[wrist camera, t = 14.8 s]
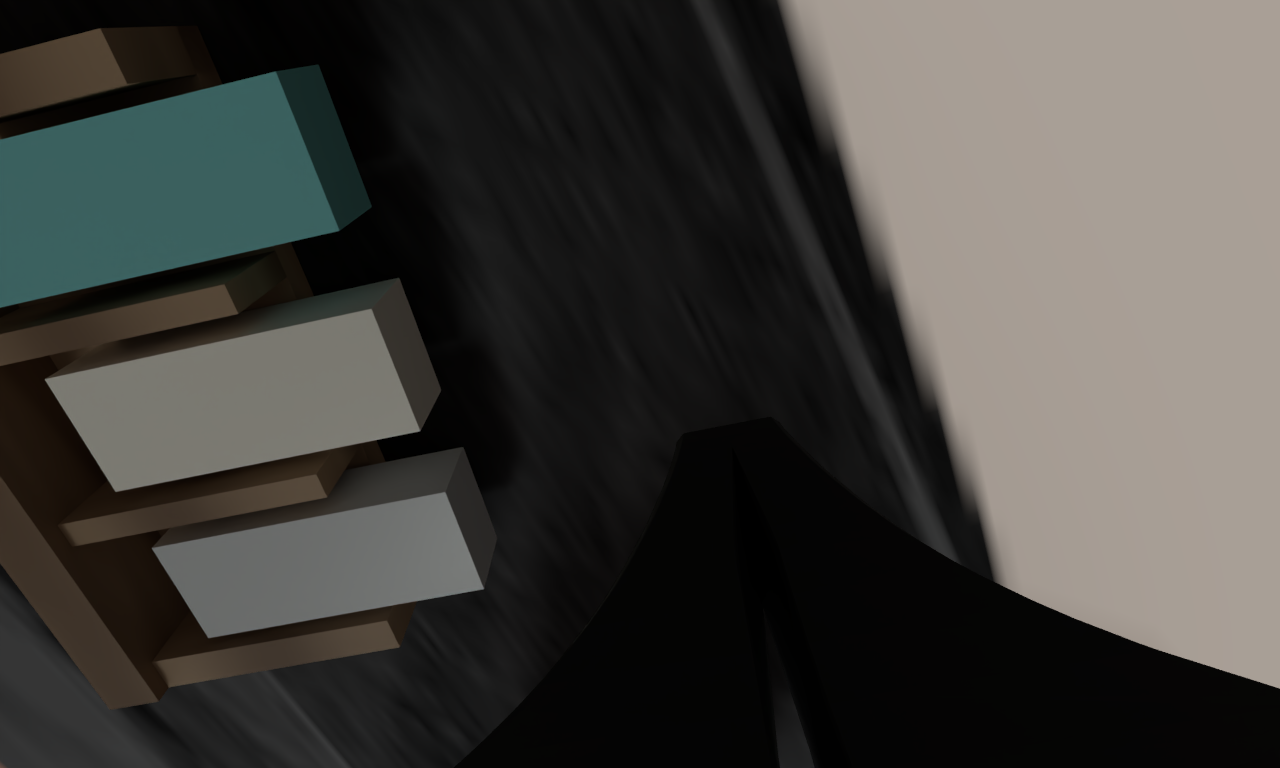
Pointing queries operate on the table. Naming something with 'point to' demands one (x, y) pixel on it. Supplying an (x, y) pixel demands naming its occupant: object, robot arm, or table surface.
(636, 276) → the table surface
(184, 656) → the walnut key block
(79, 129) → the teal flat slab
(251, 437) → the off-white rectangular box
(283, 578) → the light grey rectangular block
